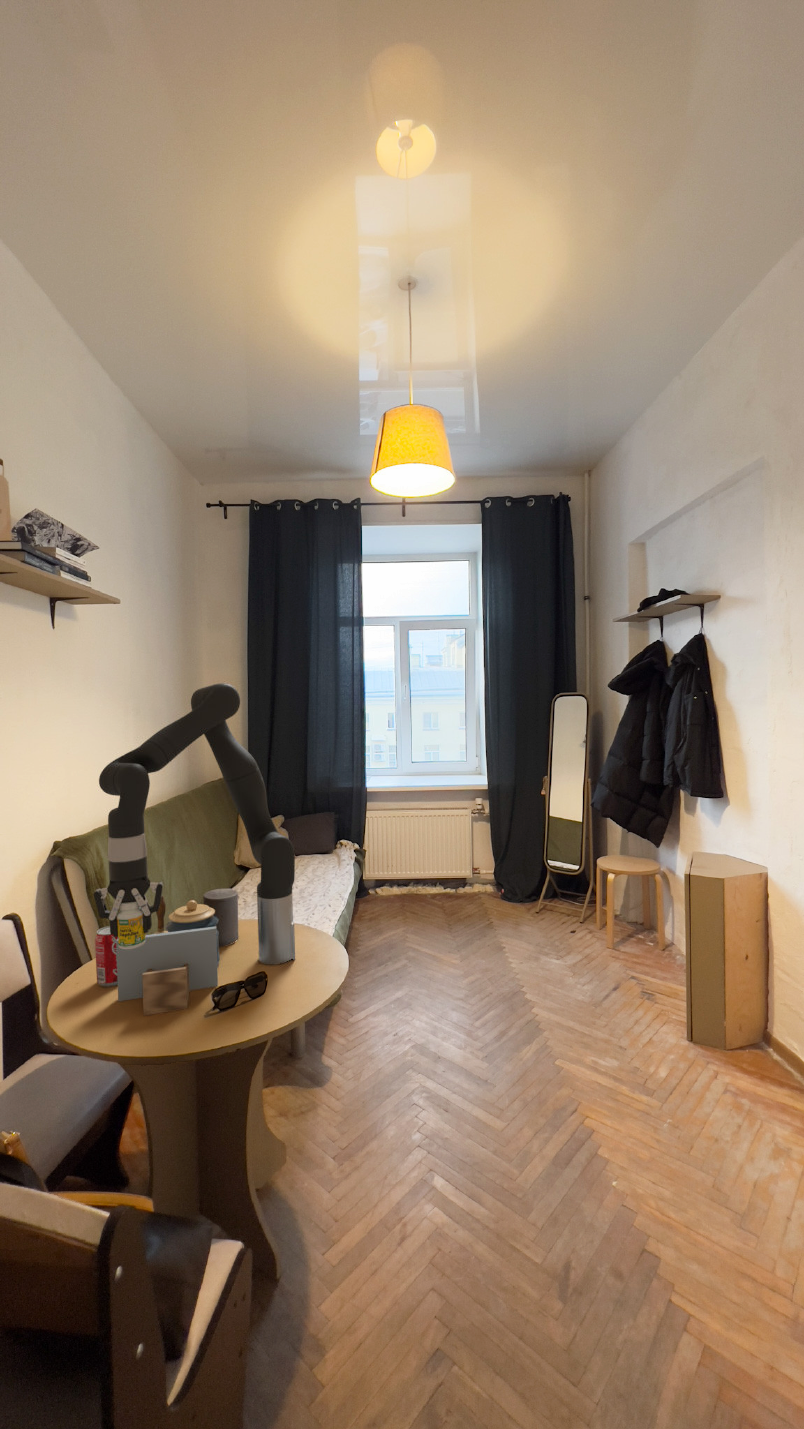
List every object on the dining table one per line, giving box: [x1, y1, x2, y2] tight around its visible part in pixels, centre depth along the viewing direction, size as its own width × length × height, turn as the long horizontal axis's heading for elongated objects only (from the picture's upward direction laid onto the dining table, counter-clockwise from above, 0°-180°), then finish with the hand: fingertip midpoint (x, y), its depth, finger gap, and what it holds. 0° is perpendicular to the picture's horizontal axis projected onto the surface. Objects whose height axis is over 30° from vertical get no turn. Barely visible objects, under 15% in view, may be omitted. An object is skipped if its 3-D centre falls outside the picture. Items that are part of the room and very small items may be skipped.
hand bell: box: [154, 895, 168, 934], centre depth 166 cm, size 8×8×16 cm
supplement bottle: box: [117, 901, 146, 949], centre depth 130 cm, size 5×5×10 cm
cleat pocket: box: [142, 964, 190, 1016], centre depth 138 cm, size 9×9×9 cm
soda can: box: [94, 925, 118, 987], centre depth 150 cm, size 7×7×13 cm
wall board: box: [116, 927, 219, 1002], centre depth 143 cm, size 22×2×14 cm, turn 107°
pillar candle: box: [202, 888, 239, 948], centre depth 174 cm, size 10×10×15 cm
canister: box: [164, 899, 221, 968], centre depth 156 cm, size 13×13×18 cm
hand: (131, 933), depth 130 cm, fingers closed on supplement bottle, 5 cm apart
